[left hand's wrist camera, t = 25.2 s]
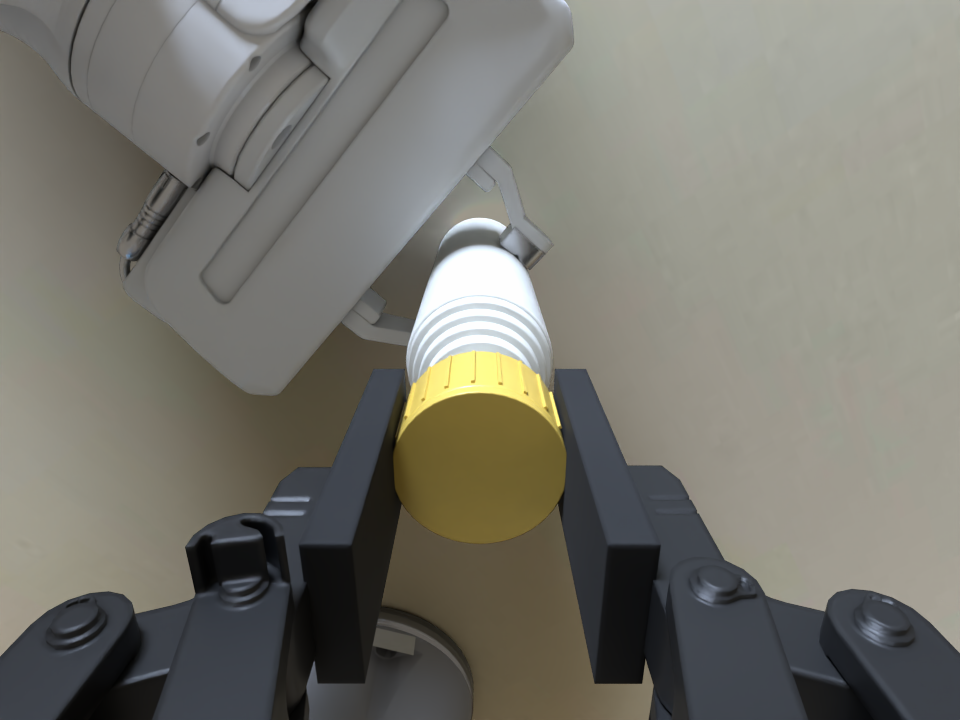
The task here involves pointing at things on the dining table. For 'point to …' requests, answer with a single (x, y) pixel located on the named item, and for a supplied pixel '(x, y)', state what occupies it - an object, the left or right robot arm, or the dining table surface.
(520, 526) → the cap
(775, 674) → the left robot arm
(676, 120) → the dining table surface
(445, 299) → the bottle
